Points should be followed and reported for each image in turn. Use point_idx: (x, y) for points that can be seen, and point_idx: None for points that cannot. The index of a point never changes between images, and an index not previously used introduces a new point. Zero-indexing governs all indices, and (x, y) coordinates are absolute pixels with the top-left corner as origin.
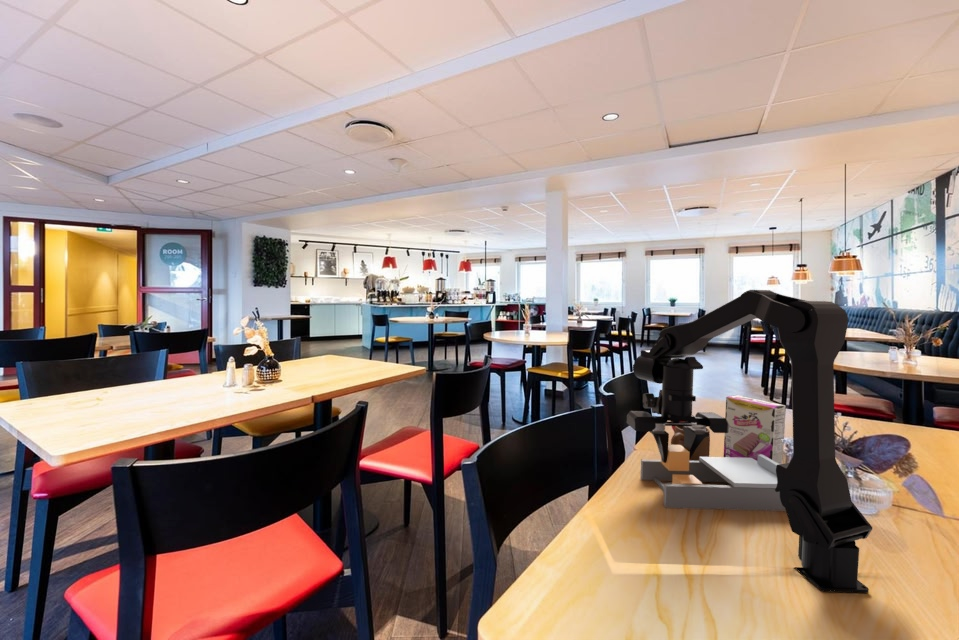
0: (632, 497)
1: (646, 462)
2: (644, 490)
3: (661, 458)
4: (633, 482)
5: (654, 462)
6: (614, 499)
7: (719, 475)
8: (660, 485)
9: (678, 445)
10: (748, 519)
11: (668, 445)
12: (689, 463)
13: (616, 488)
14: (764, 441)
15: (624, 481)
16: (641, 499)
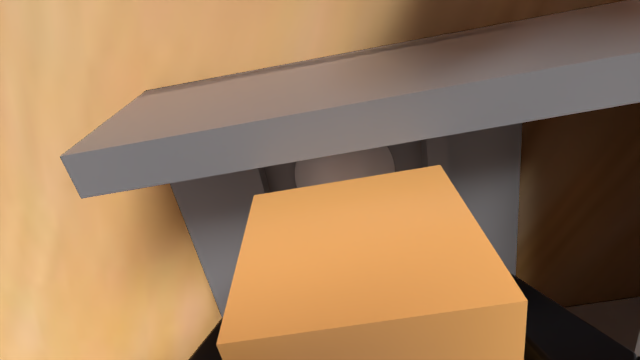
0: (111, 286)
1: (121, 187)
2: (171, 201)
3: (250, 227)
4: (101, 107)
5: (197, 172)
6: (30, 319)
7: (637, 346)
8: None
9: (478, 331)
10: None
11: (317, 355)
12: (551, 110)
13: (13, 212)
14: None
15: (41, 105)
16: (155, 294)
